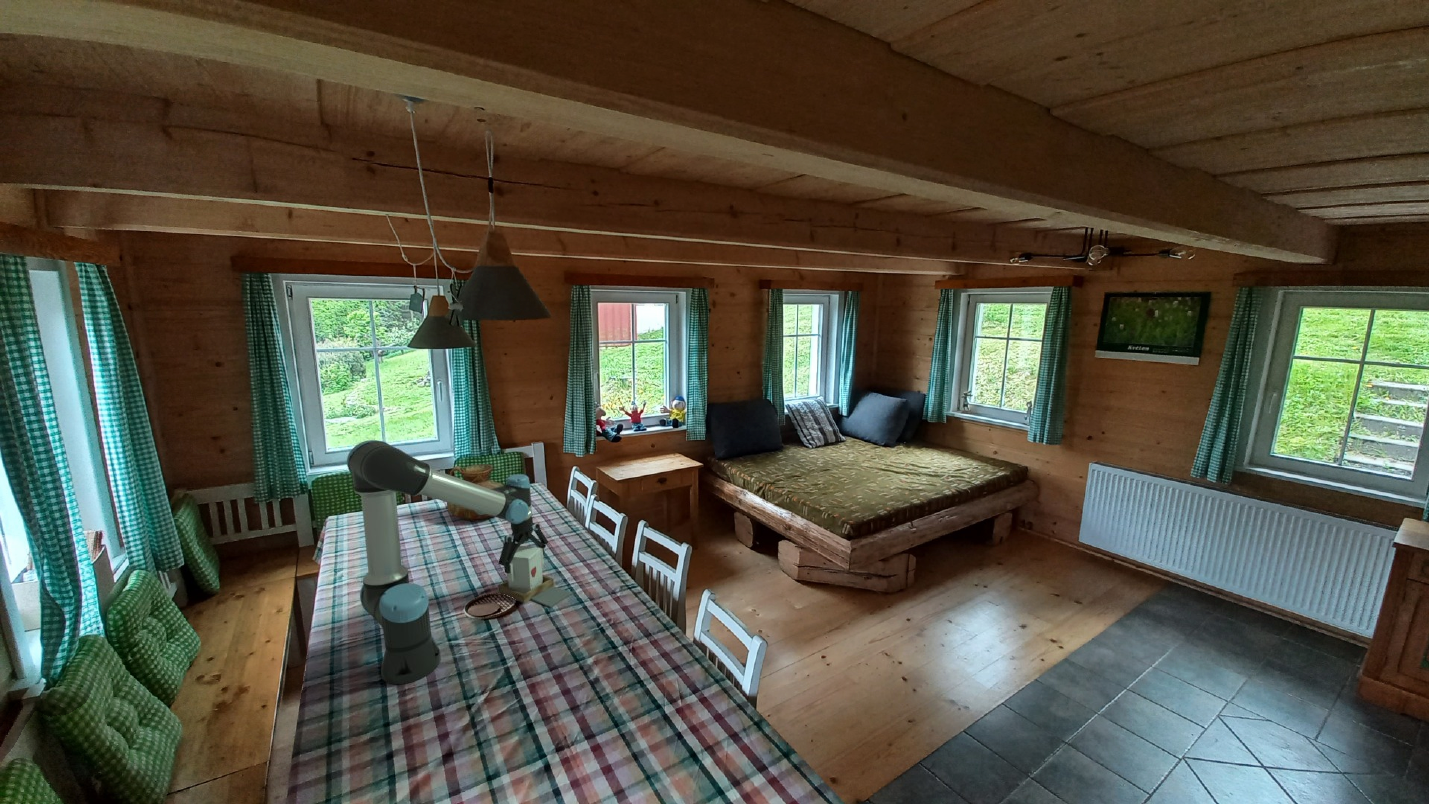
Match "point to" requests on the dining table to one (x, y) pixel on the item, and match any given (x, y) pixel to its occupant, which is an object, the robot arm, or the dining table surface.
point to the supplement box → (526, 569)
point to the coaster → (551, 596)
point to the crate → (527, 596)
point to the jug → (478, 477)
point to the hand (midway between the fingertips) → (525, 572)
